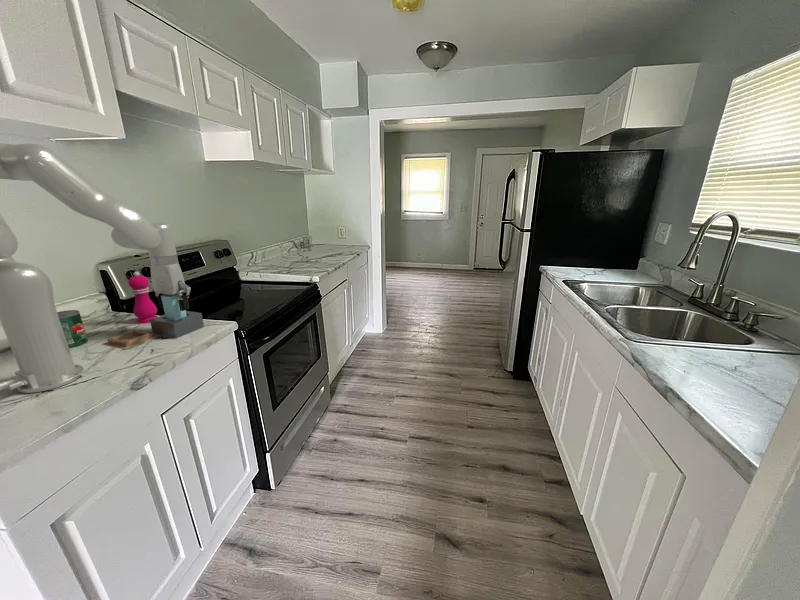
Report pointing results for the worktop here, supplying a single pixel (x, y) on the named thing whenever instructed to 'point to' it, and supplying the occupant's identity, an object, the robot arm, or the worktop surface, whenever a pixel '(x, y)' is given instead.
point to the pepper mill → (142, 299)
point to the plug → (172, 307)
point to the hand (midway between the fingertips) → (174, 308)
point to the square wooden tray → (129, 339)
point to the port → (177, 325)
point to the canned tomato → (72, 328)
